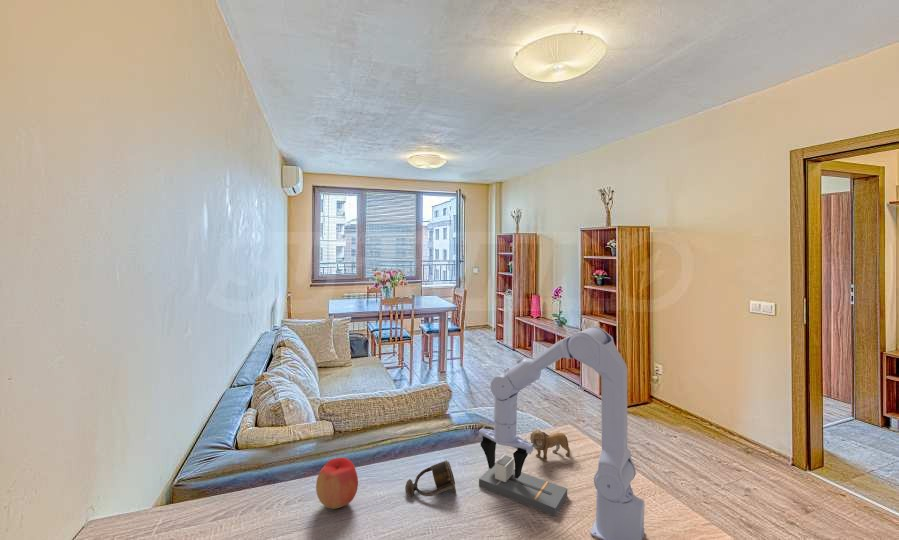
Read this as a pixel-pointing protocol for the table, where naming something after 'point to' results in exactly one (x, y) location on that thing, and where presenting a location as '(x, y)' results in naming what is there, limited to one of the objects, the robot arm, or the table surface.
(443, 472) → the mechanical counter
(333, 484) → the apple
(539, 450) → the lion figurine
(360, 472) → the table surface
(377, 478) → the table surface
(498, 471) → the fader knob
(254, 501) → the table surface
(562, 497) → the fader console
